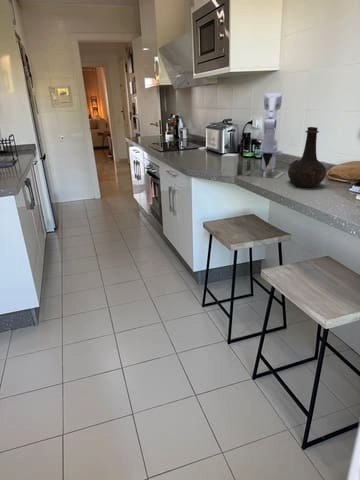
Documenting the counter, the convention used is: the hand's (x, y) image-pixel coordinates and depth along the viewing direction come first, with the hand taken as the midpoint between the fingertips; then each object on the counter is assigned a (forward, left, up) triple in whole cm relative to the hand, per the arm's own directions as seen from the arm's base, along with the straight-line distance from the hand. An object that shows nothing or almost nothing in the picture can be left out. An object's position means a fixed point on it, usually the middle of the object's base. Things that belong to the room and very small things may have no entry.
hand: (266, 167), depth 190 cm
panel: (0, 0, -5) cm, 5 cm away
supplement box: (+9, -18, -5) cm, 21 cm away
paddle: (0, 0, -4) cm, 4 cm away
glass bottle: (+12, +24, -5) cm, 27 cm away
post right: (-8, -13, -5) cm, 16 cm away
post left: (+6, -13, -5) cm, 16 cm away
